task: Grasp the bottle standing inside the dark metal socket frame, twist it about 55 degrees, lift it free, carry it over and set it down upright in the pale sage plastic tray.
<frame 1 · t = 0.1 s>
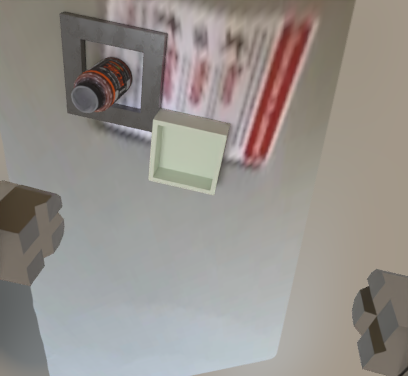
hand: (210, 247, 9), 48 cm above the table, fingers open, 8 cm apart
tray: (190, 146, 63), on the table
supplement bottle: (115, 74, 58), resting in socket frame
socket frame: (115, 74, 58), on the table
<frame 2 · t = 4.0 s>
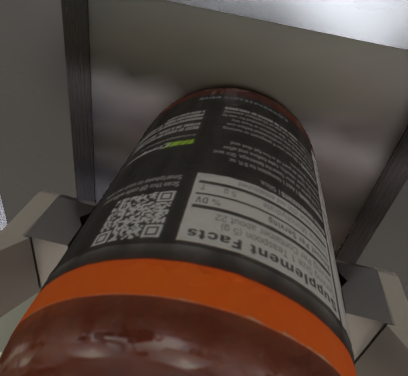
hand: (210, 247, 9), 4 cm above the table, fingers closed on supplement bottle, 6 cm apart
tray: (20, 321, 21), on the table
supplement bottle: (229, 160, 13), resting in socket frame, touching gripper
socket frame: (228, 164, 12), on the table
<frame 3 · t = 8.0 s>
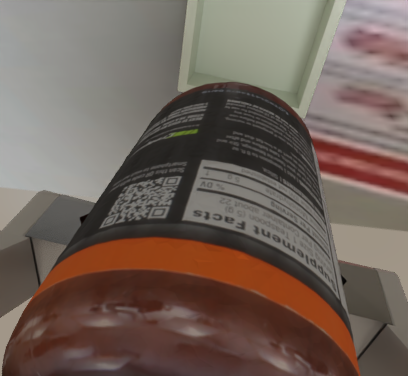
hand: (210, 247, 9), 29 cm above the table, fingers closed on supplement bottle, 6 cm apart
tray: (258, 25, 33), on the table
supplement bottle: (230, 155, 13), point 25 cm above the table, touching gripper
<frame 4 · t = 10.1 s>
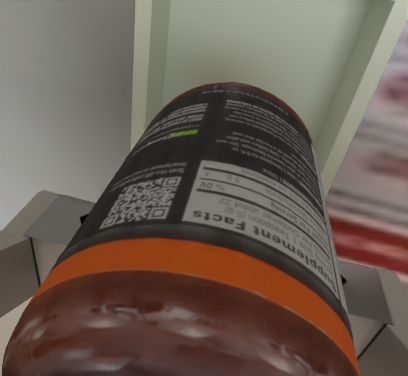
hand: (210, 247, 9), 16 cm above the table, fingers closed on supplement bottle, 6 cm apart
tray: (251, 67, 22), on the table
supplement bottle: (230, 155, 13), point 11 cm above the table, touching gripper
when the fingers open (6 cm above the table, at t = 12.1 s): supplement bottle drops 1 cm, resting on tray.
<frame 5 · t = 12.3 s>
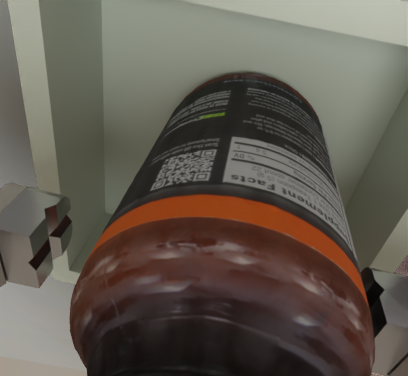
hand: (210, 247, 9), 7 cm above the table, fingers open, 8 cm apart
tray: (233, 133, 14), on the table
supplement bottle: (245, 141, 14), point 1 cm above the table, touching tray
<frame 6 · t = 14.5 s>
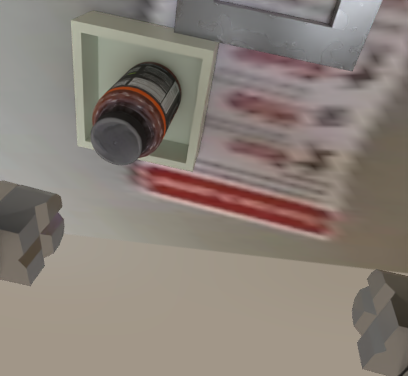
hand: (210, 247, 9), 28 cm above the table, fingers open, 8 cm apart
tray: (151, 87, 36), on the table
supplement bottle: (154, 89, 35), point 1 cm above the table, touching tray
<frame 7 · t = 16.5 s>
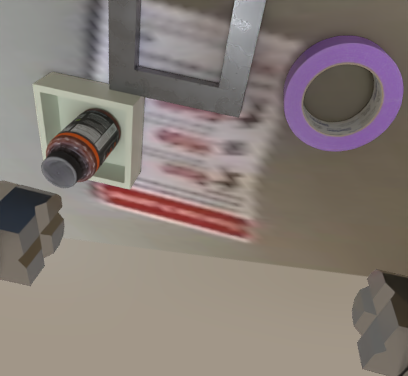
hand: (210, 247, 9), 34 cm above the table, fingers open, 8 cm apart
tray: (99, 125, 48), on the table
supplement bottle: (101, 127, 47), point 1 cm above the table, touching tray
masking tape: (336, 89, 40), on the table
socket frame: (184, 30, 39), on the table
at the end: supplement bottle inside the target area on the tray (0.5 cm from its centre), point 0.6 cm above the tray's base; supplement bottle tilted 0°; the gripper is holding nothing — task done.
